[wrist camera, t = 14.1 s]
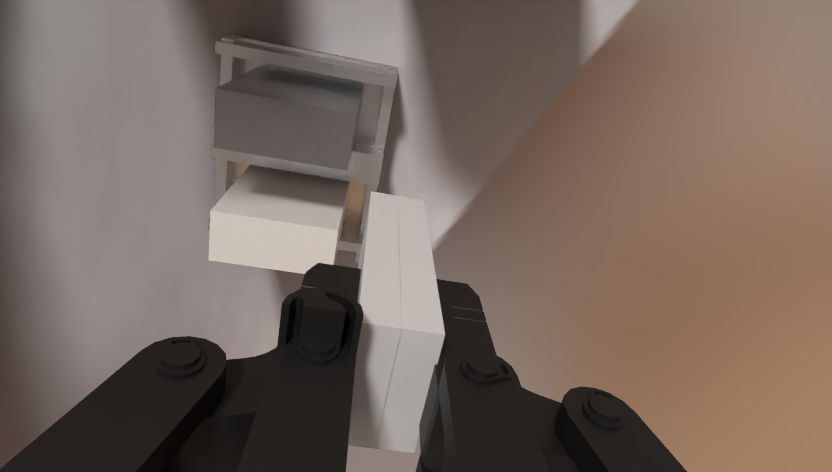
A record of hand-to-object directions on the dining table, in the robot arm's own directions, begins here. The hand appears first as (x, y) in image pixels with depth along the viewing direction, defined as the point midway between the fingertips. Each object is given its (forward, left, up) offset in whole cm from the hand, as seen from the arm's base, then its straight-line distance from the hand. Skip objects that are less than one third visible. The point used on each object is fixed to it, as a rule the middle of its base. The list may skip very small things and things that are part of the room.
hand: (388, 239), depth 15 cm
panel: (-6, -10, -28) cm, 31 cm away
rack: (-6, -6, -29) cm, 31 cm away
